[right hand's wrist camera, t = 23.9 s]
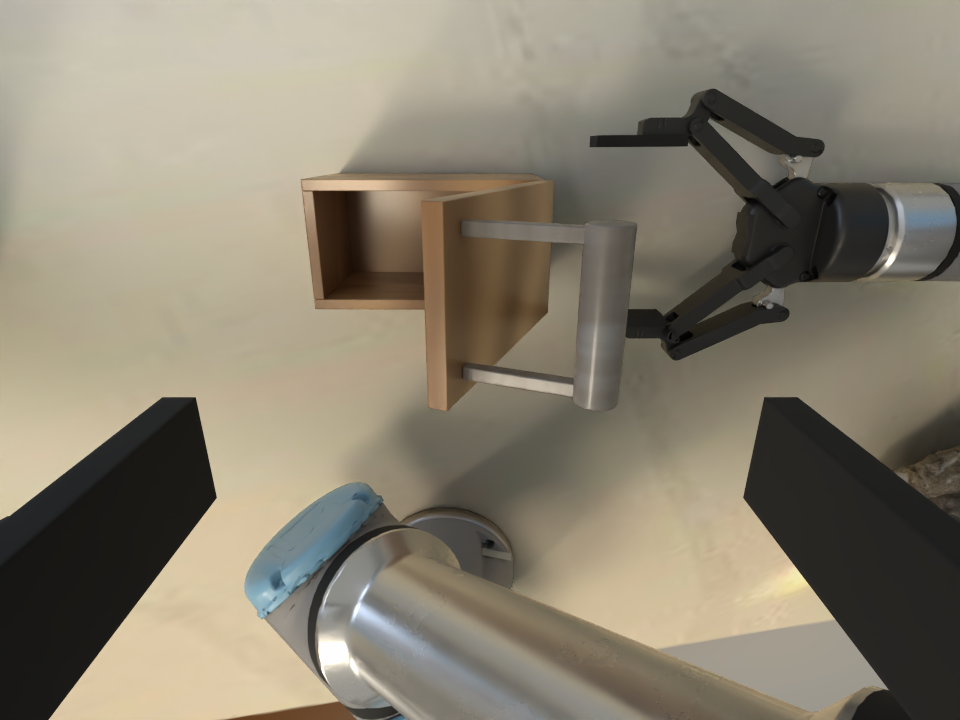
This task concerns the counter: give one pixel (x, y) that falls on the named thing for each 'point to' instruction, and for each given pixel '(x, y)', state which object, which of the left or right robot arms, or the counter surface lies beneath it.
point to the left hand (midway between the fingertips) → (586, 235)
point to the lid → (518, 293)
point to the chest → (377, 233)
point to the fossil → (937, 479)
